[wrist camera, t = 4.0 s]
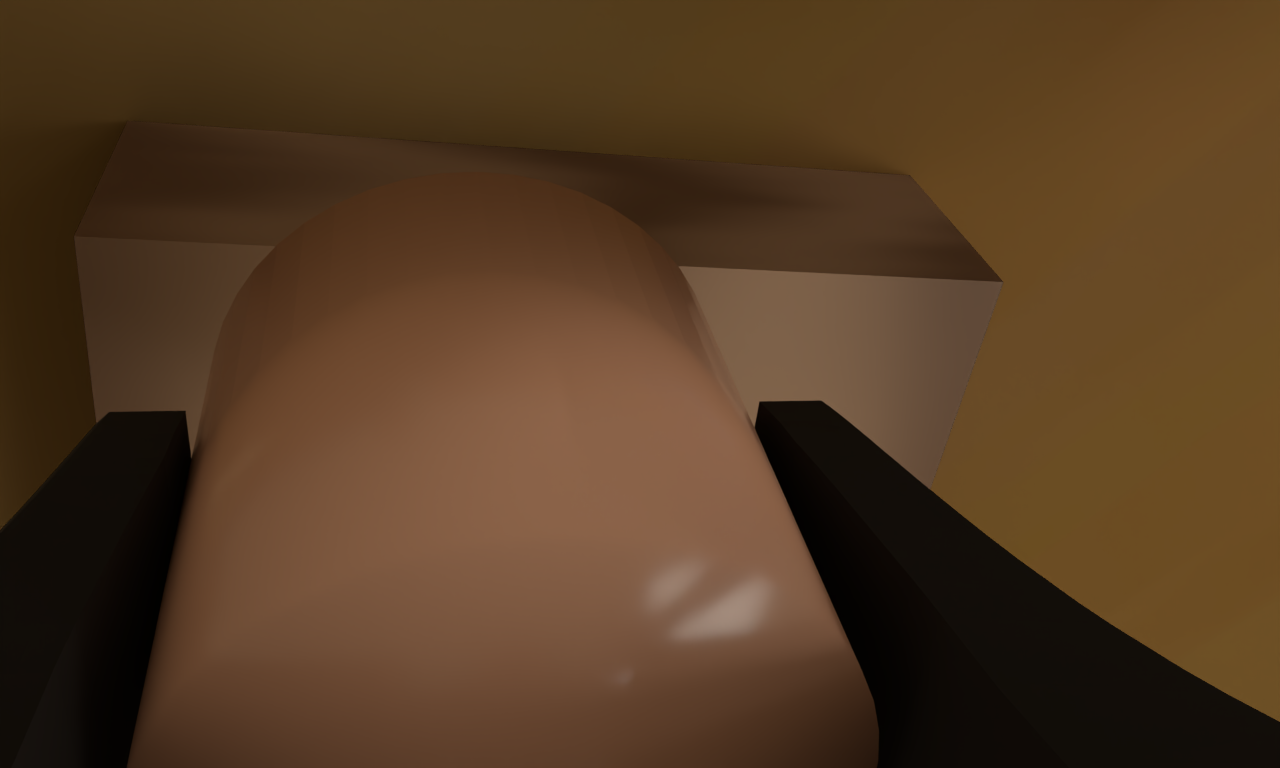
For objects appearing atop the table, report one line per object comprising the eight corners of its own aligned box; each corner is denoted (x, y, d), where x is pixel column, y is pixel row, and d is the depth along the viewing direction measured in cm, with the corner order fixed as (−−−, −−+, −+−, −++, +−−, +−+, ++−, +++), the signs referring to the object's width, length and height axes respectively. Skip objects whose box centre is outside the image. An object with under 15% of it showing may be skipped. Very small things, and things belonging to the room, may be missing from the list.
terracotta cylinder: (745, 176, 11) (957, 519, 7) (683, 574, 14) (810, 986, 10) (181, 167, 10) (53, 561, 6) (234, 597, 13) (168, 1068, 9)
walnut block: (901, 166, 20) (1003, 282, 17) (758, 670, 26) (811, 826, 23) (132, 111, 17) (74, 236, 14) (181, 688, 24) (150, 868, 20)
